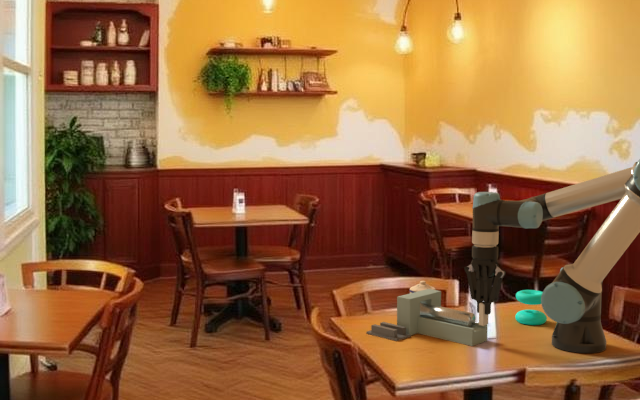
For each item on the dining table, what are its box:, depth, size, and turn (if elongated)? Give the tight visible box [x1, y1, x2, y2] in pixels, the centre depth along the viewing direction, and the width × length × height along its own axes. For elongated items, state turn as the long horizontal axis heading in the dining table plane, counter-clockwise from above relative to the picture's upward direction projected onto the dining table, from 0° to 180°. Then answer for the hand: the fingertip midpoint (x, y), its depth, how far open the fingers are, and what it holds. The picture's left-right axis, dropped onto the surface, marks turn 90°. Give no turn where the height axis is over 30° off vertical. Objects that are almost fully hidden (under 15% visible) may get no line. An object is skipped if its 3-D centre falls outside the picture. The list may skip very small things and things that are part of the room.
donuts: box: [514, 289, 548, 326], centre depth 249 cm, size 10×10×10 cm
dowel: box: [420, 303, 476, 328], centre depth 235 cm, size 20×4×4 cm, turn 45°
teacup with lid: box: [408, 280, 437, 294], centre depth 261 cm, size 12×9×12 cm
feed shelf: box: [417, 317, 488, 347], centre depth 232 cm, size 20×8×5 cm, turn 45°
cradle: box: [365, 321, 412, 342], centre depth 234 cm, size 12×7×3 cm, turn 45°
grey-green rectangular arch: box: [396, 289, 442, 336], centre depth 241 cm, size 5×16×11 cm, turn 135°
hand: (483, 324), depth 224 cm, fingers closed
